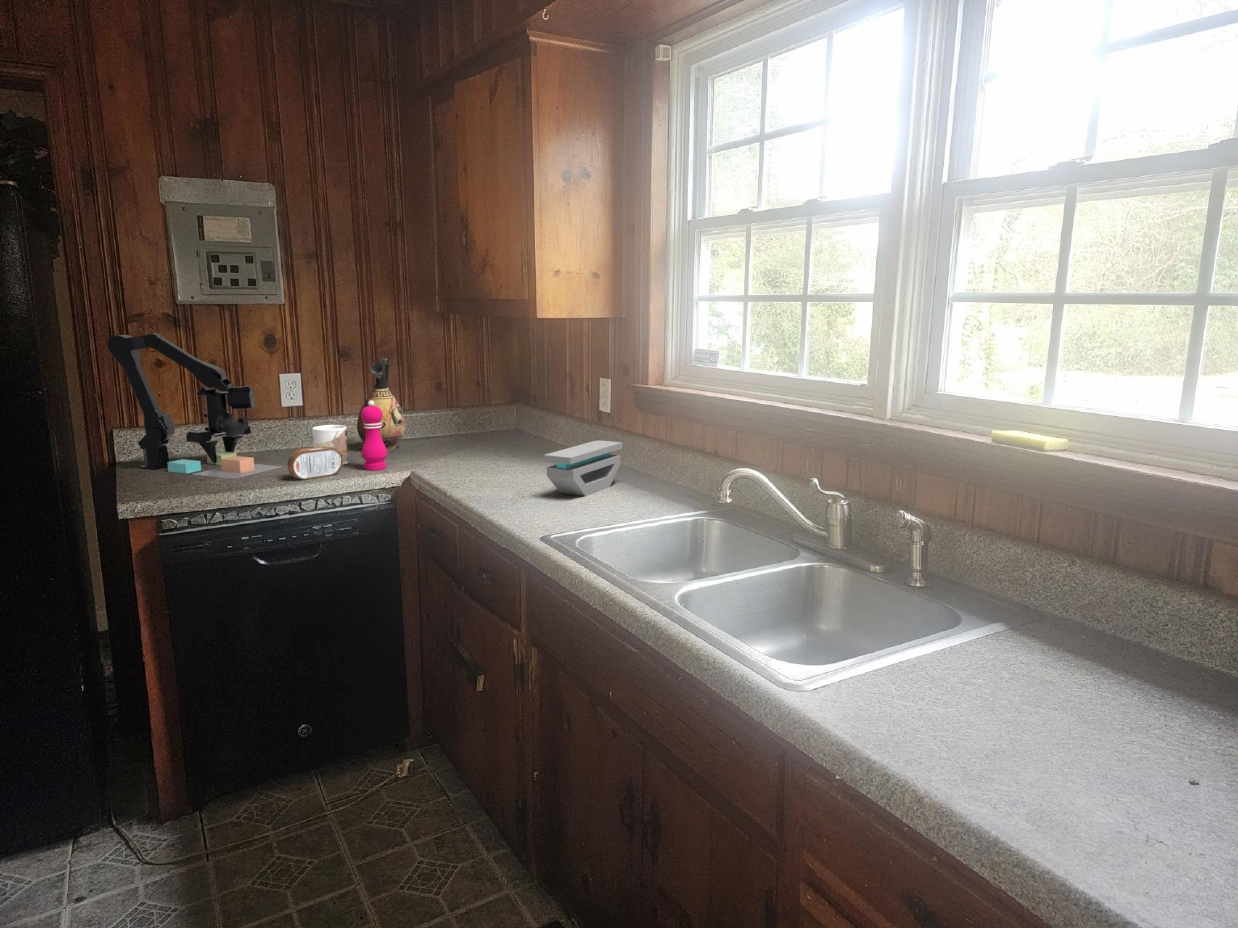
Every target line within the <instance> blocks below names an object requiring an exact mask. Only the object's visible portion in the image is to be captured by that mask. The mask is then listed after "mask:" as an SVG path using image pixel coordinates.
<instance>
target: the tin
mask: <svg viewBox="0 0 1238 928" xmlns="http://www.w3.org/2000/svg"><path fill="white" fill-rule="evenodd" d="M343 465H344V464H343V457H342V454H341V453H340V452H339V451H338V450H337V449H335V448H333V447H330V446H324V447H315V448H314V447H308V448H299V449H297V450H295V451H294V452H292V453H291V455H290V456H289V458H288V460H287V470H288V473H289V474H290V475H291V476H292V477H294V478H296V479H299V480H303V481H306V480H307V481H308V480H313V479H319V478H326V477H332V476H335V475H337V474H338V473H339V472H340V471H341V469H342V468H343Z"/></svg>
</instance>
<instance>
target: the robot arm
mask: <svg viewBox="0 0 1238 928" xmlns="http://www.w3.org/2000/svg"><path fill="white" fill-rule="evenodd" d="M106 346H107V349H108V352H109V353H110V354H111V356H112V357H113V358H114V360H115V361H116V363H118V364H119V365H120V366H121V368H122V369H123V371H124V373H125V375H126V377H127V380H128V381H129V384H130V387H131V389H132V391H133V394H134V396H135V398H136V401H137V402H138V405H139V406H140V409H141V412H142V414H143V426H144V428H143V429H144V432H145V435H144V436H142V438H141V439H140V440H139V441H138V442H137V443H138V446H139V448H140V450H142V454H143V461H144V465H140V466H139V468H140V469H147V470H149V469H150V470H159V469H165V468H168V464H167V462H170V457H169V450H168V446H167V445H168V444H169V441H170V439H171V438H173V436H174V435H175V432H176V431H175V427H176V425H177V424H175V422H174V421H173V418H172V415H171V413H170V412H169V413H164V412H163V411H162V410H161V408H160V406H159V404H158V402H157V399H156V396H155V394H154V393H153V389H152V388H151V385H150V383H149V381H148V378H147V376H146V373H145V371H144V368H143V366H142V365H141V351H140V350H143V349H149V348H152V349H154V350H155V351H156V352H158V353H159V354H161V355H164V357H166V358H167V359H170V360H171V361H173V362H174V363H176V364H178V365H179V366H180V367H181V366H182V368H184V369H186V370H188V371H189V372H190V373H191V374H192V375H193V376H194V378H196V380H198V381H199V382H200V383H201V384H202V385H203V386H202V387H200V390H199V391H198V392H196V396H204V401H205V410H206V413H203V418H206V419H207V426H205V427H204V430H200V429H199V430H198V429H197V430H193V431H188V432H187V433H186V434H185V438H186V442H188V443H189V442H190V443H196V444H199V445H200V446H201V448H202V449H203V451H205V453H206V456H207V455H208V456H209V458H210V459H211V461H212V462H213V463H216V452H217V448H216V446H217V443H218V442H219V440H215V438H216V437H221V438H222V443H223V446H224V447H223V448H224V450H225V452H233V453H235V448H236V445H237V443H238V441H239V440H241V439H243V437H244V436H243V435H250V434H252V430H251V427H250V426H249V419H248V418H246V417H245V416H243V417H239V418H236V419H235V418H233V414H232V412H229V409H228V406H229V407H230V408H231V409H232V410H252V409H255V405H256V397H255V395H254V391H253V390H252V389H253V388H252V386H251V385H245V386H236V385H234V384H233V383H232V382H231V380H230V379H229V378H228V377H227V372H226V370H224V369H223V368H221V367H220V366H217V365H215V364H212V363H210V362H207V361H204V360H202V359H199V358H197V357H195V356H194V355H192V354H191V353H189V352H187V351H186V350H184V349H183V348H181V347H179V346H178V345H176V344H175V343H173V342H171V341H169V339H166V338H165V337H163V335H161V334H160V333H155V332H153V333H148V334H145V335H139V336H132V335H129V334H123V335H122V334H121V335H120V334H119V335H114V336H112V337H110V338H109V340H108V341H107V344H106Z"/></svg>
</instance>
